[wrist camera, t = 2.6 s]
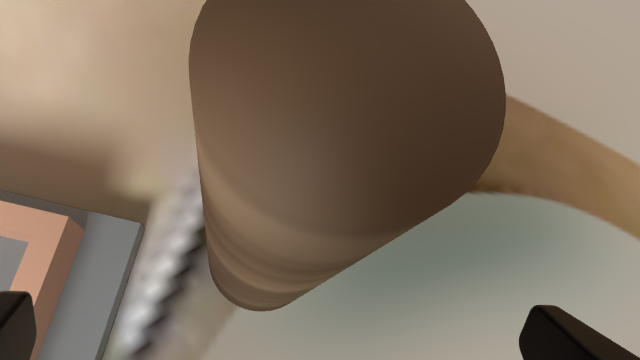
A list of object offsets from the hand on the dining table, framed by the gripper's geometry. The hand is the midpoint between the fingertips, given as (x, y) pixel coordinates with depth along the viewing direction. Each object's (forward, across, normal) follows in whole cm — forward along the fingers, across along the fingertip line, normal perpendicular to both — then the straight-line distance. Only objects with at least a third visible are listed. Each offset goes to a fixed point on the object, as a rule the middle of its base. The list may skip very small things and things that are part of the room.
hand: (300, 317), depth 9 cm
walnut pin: (+9, 0, +5) cm, 10 cm away
